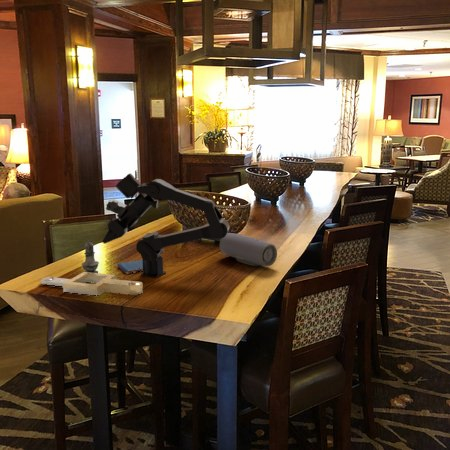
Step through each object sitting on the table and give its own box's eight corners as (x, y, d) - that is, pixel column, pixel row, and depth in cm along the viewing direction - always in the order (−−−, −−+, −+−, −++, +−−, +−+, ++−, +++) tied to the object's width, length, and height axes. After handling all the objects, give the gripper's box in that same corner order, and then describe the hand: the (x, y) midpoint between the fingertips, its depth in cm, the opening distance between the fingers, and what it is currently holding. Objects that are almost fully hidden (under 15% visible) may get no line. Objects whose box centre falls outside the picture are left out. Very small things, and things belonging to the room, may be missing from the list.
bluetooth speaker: (278, 267, 179) (278, 240, 176) (260, 272, 173) (260, 245, 170) (236, 254, 195) (236, 229, 193) (218, 258, 189) (218, 233, 187)
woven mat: (154, 271, 176) (154, 266, 175) (125, 276, 171) (125, 270, 170) (144, 263, 185) (143, 258, 184) (116, 268, 180) (116, 262, 179)
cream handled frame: (116, 283, 162) (116, 279, 161) (97, 296, 151) (97, 291, 150) (53, 277, 168) (52, 272, 168) (30, 288, 157) (30, 284, 157)
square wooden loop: (150, 287, 158) (149, 278, 158) (133, 300, 147) (132, 291, 146) (84, 280, 165) (83, 271, 164) (63, 292, 154) (62, 283, 153)
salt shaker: (82, 276, 169) (79, 242, 166) (82, 271, 174) (79, 238, 172) (99, 274, 170) (97, 241, 168) (99, 269, 176) (97, 237, 173)
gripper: (127, 187, 174) (98, 217, 177) (112, 196, 156) (80, 229, 159) (149, 209, 176) (121, 238, 179) (137, 220, 157) (105, 252, 161)
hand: (107, 239), depth 169 cm, fingers open, 9 cm apart
